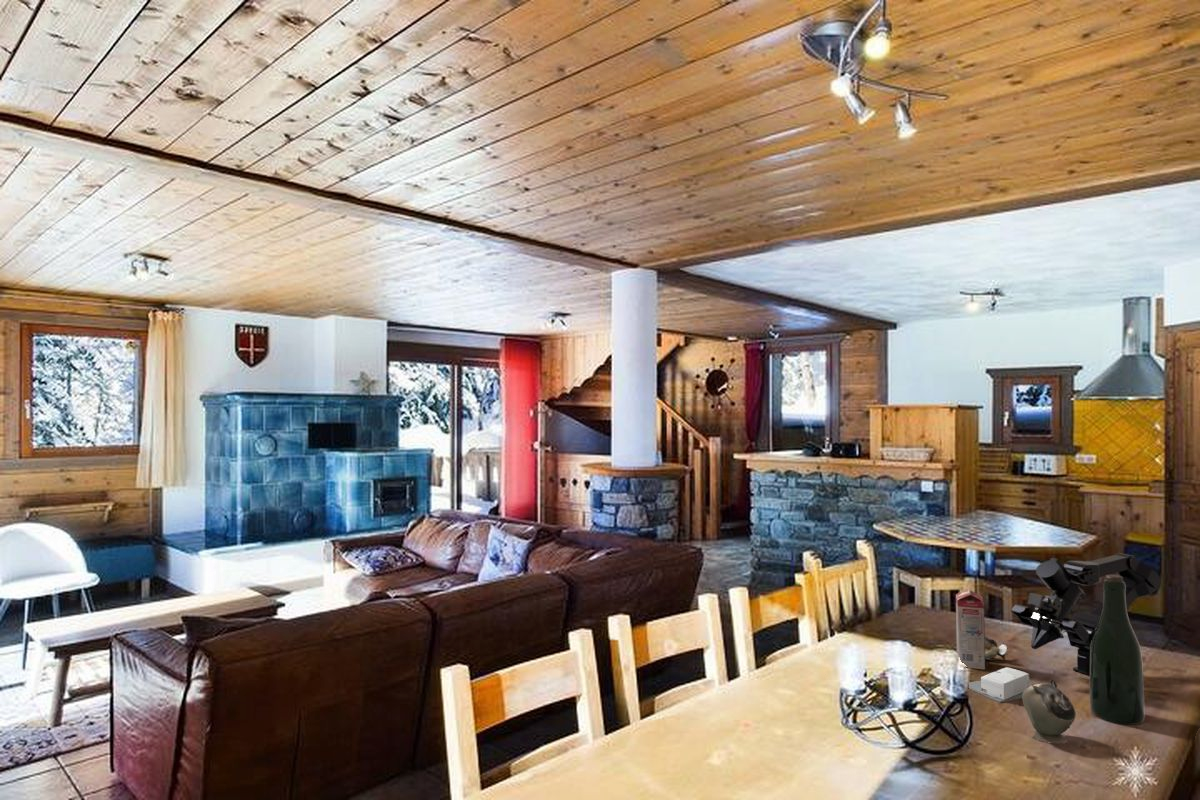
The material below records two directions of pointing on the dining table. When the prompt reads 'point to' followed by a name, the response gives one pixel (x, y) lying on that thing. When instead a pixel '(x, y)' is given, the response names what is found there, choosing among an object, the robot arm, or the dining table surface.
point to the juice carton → (970, 629)
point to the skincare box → (1004, 683)
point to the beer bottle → (1116, 661)
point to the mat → (976, 687)
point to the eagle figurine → (994, 649)
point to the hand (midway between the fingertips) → (1033, 647)
